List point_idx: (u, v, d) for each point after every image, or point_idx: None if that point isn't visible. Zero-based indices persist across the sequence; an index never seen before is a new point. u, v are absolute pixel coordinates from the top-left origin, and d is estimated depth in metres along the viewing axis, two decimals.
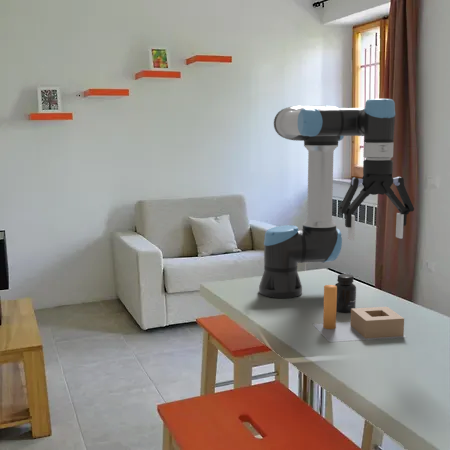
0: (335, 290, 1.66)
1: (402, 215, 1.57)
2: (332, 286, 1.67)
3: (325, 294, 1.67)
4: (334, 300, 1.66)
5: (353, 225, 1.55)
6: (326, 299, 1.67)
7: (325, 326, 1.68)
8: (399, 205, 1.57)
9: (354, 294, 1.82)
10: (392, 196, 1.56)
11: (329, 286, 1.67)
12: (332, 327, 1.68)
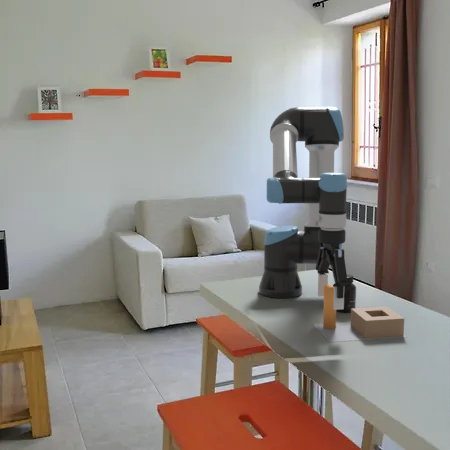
0: None
1: None
2: (332, 286, 1.67)
3: (325, 294, 1.67)
4: None
5: (318, 283, 1.74)
6: (326, 299, 1.67)
7: (325, 326, 1.68)
8: (333, 276, 1.60)
9: (354, 294, 1.82)
10: (331, 266, 1.62)
11: (329, 286, 1.67)
12: (332, 327, 1.68)
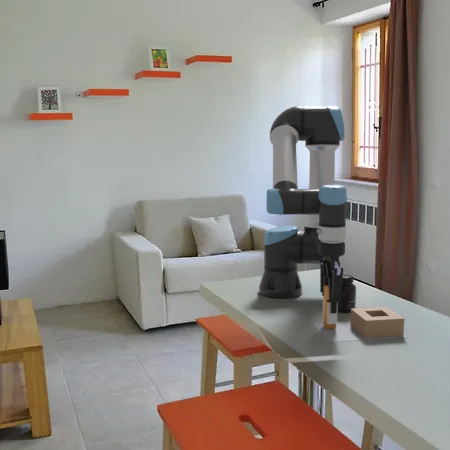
0: None
1: (328, 302, 1.66)
2: None
3: (325, 294, 1.67)
4: None
5: (323, 306, 1.70)
6: (326, 299, 1.67)
7: (325, 326, 1.68)
8: (329, 291, 1.65)
9: (354, 294, 1.82)
10: (328, 279, 1.65)
11: None
12: (332, 327, 1.67)
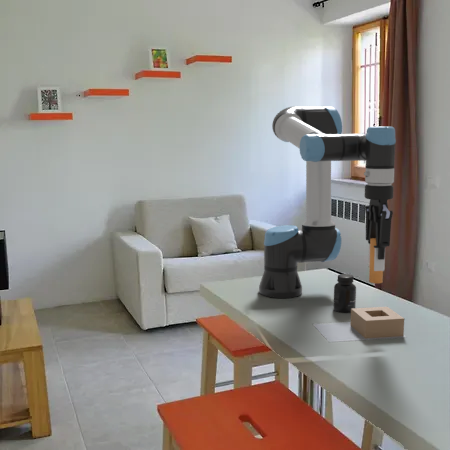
0: None
1: (375, 248, 1.60)
2: None
3: (372, 247, 1.61)
4: None
5: (369, 253, 1.64)
6: (372, 251, 1.61)
7: (371, 280, 1.63)
8: (376, 236, 1.59)
9: (354, 294, 1.82)
10: (376, 224, 1.59)
11: None
12: (379, 281, 1.62)
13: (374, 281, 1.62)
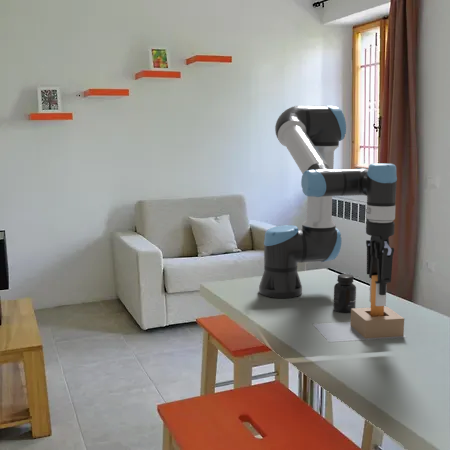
0: None
1: (376, 283, 1.62)
2: None
3: (373, 284, 1.63)
4: None
5: (370, 288, 1.66)
6: (374, 289, 1.63)
7: None
8: (378, 272, 1.61)
9: (354, 294, 1.82)
10: (377, 260, 1.61)
11: (377, 276, 1.64)
12: None
13: None
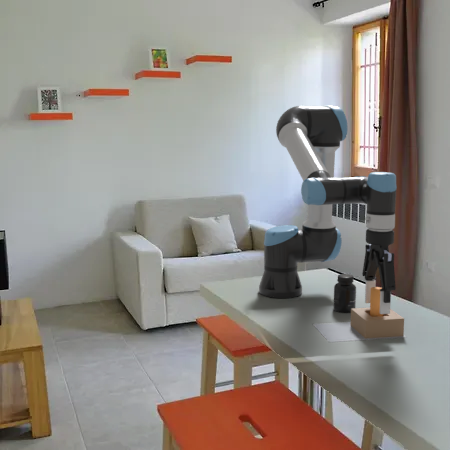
0: None
1: (381, 291, 1.59)
2: (379, 288, 1.65)
3: (372, 296, 1.64)
4: None
5: (366, 289, 1.69)
6: (373, 301, 1.64)
7: None
8: (381, 280, 1.59)
9: (354, 294, 1.82)
10: (379, 268, 1.60)
11: (376, 288, 1.65)
12: None
13: None
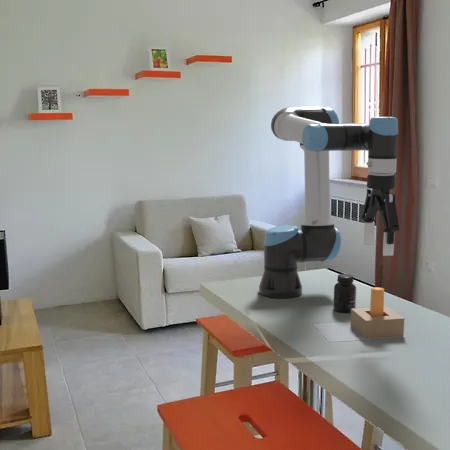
0: (383, 293, 1.63)
1: (384, 232, 1.57)
2: (379, 289, 1.65)
3: (372, 297, 1.64)
4: (381, 303, 1.64)
5: (364, 231, 1.71)
6: (373, 301, 1.64)
7: None
8: (384, 222, 1.58)
9: (354, 294, 1.82)
10: (381, 211, 1.59)
11: (376, 289, 1.65)
12: None
13: None
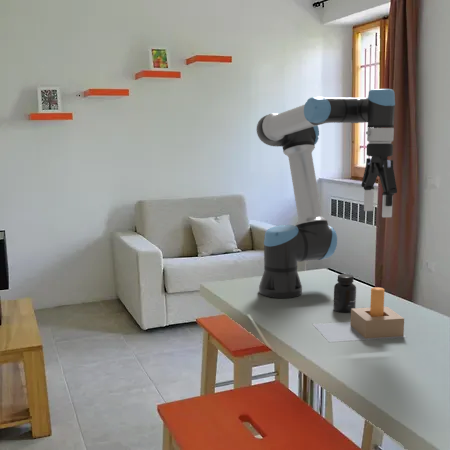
0: (383, 293, 1.63)
1: (383, 195, 1.70)
2: (379, 289, 1.64)
3: (372, 297, 1.64)
4: (382, 303, 1.63)
5: (364, 198, 1.84)
6: (373, 301, 1.64)
7: None
8: (382, 186, 1.70)
9: (354, 294, 1.82)
10: (380, 177, 1.72)
11: (376, 289, 1.64)
12: None
13: None
